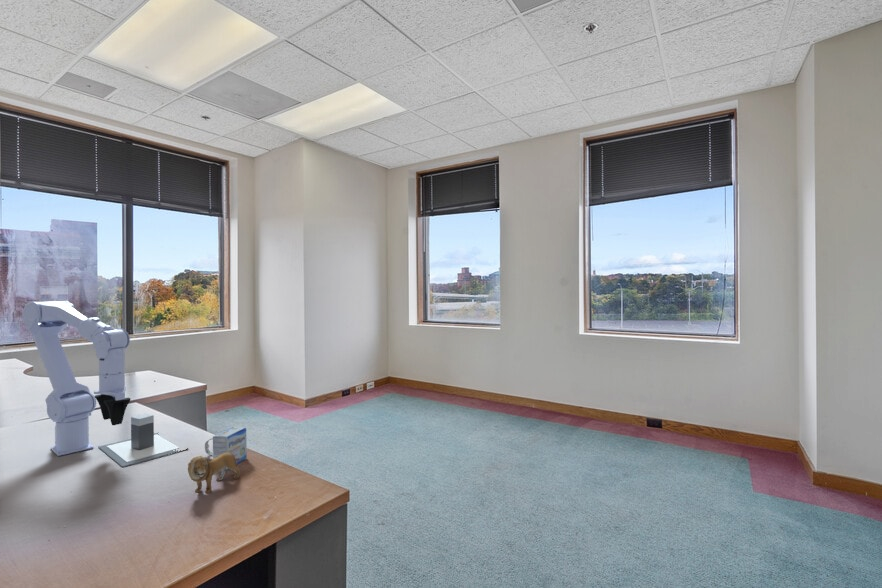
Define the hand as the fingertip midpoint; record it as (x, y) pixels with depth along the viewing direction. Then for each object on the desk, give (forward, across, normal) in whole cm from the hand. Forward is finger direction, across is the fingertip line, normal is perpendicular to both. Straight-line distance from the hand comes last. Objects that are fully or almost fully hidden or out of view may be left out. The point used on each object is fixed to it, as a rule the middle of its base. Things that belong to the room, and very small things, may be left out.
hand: (112, 421), depth 121 cm
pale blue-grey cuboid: (+9, +1, +7) cm, 11 cm away
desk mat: (+9, +1, +7) cm, 12 cm away
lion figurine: (+10, +42, +9) cm, 44 cm away
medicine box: (+10, +31, +18) cm, 37 cm away
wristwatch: (+10, +22, +18) cm, 30 cm away
